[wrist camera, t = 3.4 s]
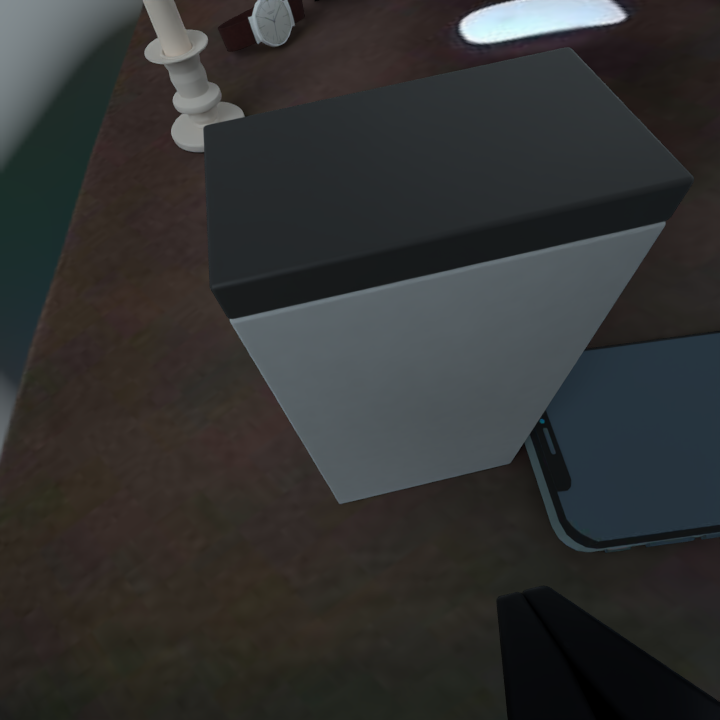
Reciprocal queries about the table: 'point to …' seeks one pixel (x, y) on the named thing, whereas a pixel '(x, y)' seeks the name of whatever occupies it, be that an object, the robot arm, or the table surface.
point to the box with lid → (431, 257)
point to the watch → (262, 24)
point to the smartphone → (633, 445)
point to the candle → (186, 76)
